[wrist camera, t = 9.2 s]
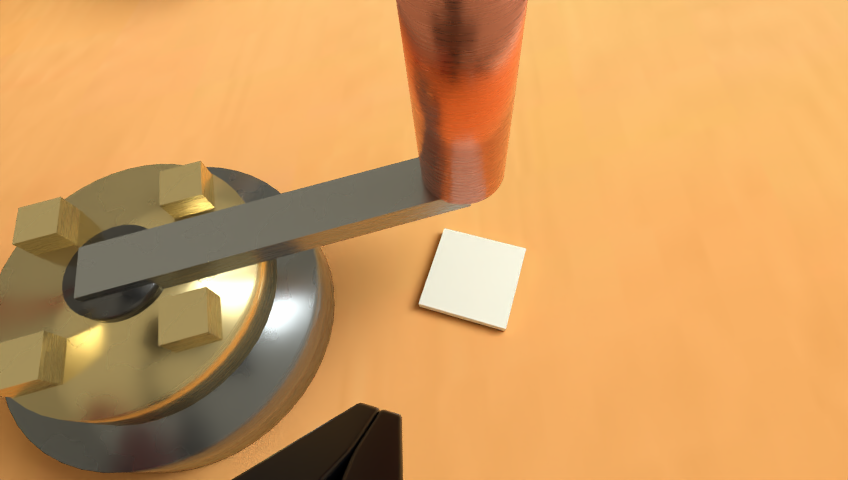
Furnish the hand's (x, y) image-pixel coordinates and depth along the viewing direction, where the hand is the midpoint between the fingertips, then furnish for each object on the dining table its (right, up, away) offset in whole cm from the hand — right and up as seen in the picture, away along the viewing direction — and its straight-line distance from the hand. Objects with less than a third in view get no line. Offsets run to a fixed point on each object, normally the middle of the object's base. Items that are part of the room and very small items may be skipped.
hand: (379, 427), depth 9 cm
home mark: (+3, +2, +13) cm, 13 cm away
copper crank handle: (-5, +3, +10) cm, 12 cm away
